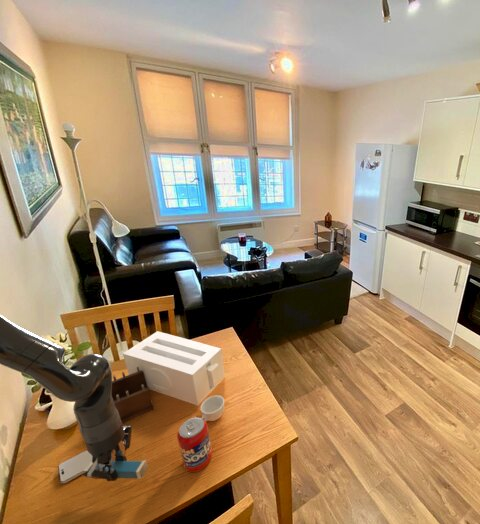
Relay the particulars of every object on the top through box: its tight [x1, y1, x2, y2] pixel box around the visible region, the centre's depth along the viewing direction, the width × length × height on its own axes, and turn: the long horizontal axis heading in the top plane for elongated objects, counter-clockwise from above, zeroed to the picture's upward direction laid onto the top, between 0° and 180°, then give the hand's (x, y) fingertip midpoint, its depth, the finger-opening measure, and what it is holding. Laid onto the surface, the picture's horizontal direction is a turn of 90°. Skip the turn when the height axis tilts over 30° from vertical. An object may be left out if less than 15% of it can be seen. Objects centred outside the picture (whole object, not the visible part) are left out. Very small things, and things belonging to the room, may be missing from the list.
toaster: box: [122, 330, 226, 406], centre depth 114 cm, size 35×16×15 cm, turn 74°
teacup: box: [200, 394, 226, 422], centre depth 102 cm, size 10×8×5 cm
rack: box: [111, 367, 155, 424], centre depth 102 cm, size 14×14×11 cm
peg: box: [84, 460, 149, 480], centre depth 77 cm, size 3×14×3 cm, turn 92°
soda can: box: [177, 416, 213, 473], centre depth 86 cm, size 8×8×15 cm
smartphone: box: [57, 440, 126, 484], centre depth 87 cm, size 7×1×15 cm
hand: (117, 472), depth 78 cm, fingers closed on peg, 2 cm apart
